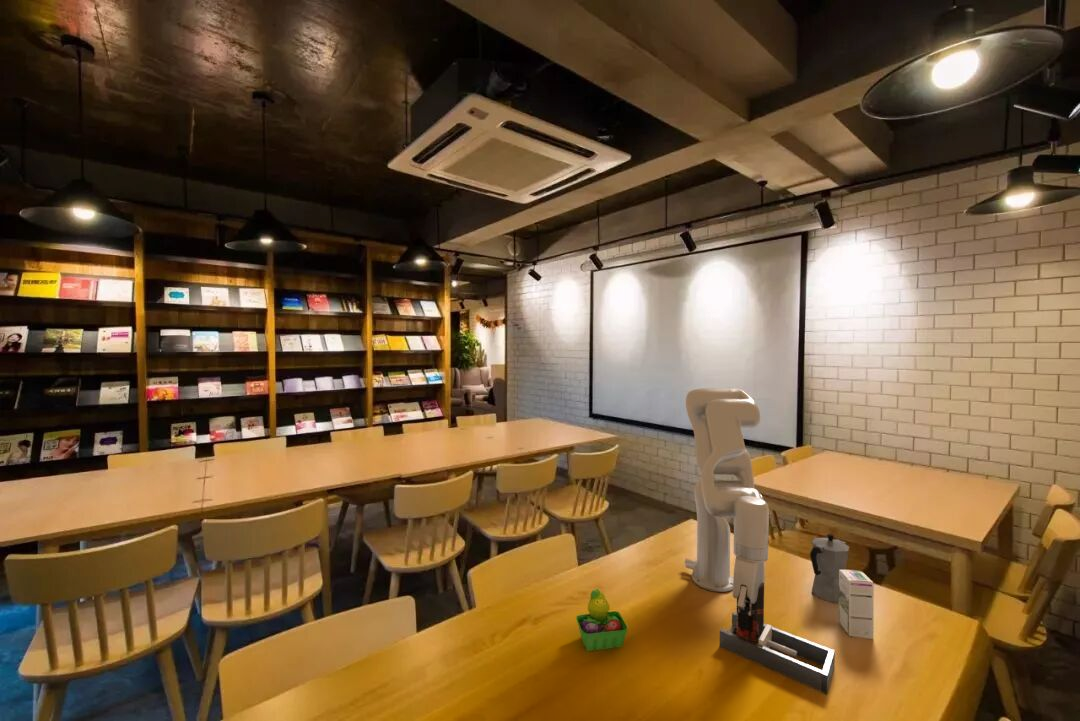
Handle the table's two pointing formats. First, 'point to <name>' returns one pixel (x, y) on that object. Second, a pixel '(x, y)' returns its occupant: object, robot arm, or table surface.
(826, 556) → the coffeepot
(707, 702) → the table surface
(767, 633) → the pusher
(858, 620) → the syrup box
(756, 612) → the deodorant
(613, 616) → the fruit basket
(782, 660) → the frame
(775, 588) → the table surface
